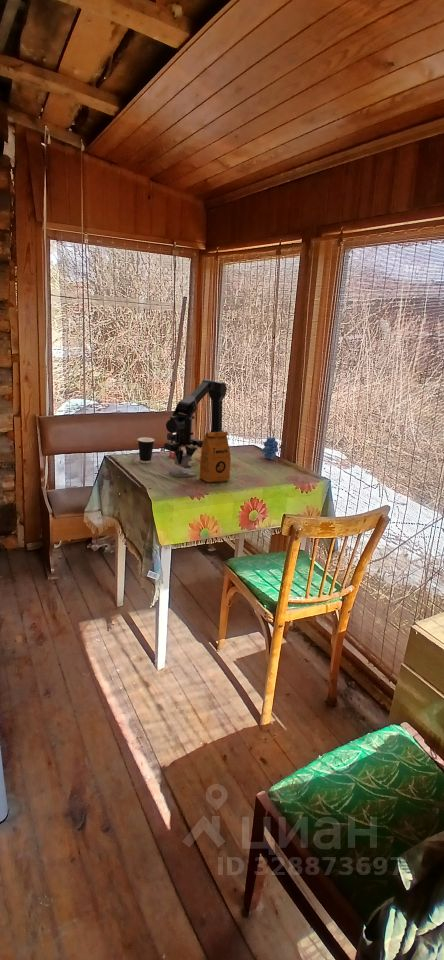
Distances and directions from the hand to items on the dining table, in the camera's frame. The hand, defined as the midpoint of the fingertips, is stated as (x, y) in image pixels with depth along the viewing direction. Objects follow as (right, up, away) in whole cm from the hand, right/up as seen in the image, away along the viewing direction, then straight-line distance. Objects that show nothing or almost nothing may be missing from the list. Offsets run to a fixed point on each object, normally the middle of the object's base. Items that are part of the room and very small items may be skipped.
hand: (183, 463), depth 250 cm
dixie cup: (-19, +1, +16) cm, 25 cm away
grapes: (+43, +3, +36) cm, 56 cm away
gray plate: (0, -5, +1) cm, 5 cm away
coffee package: (+14, -8, -5) cm, 17 cm away
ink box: (-4, +4, +29) cm, 29 cm away
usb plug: (+1, -1, -1) cm, 2 cm away
